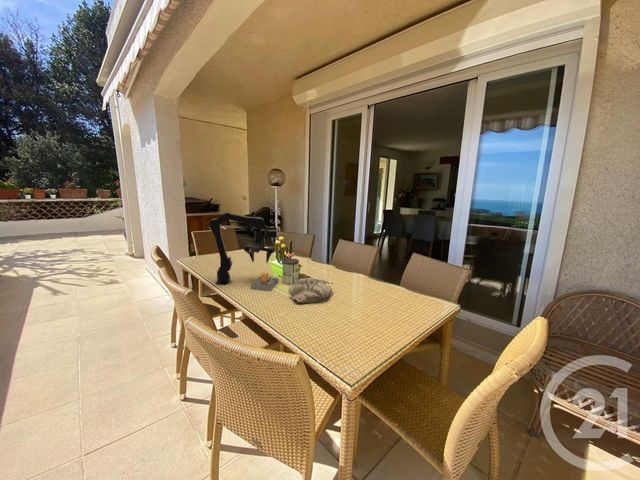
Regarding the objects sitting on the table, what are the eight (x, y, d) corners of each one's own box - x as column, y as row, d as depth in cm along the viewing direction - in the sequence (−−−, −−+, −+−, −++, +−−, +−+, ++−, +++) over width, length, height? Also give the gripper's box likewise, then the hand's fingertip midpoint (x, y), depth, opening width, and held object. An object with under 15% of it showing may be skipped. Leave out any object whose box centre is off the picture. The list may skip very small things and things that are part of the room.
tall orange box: (261, 286, 152) (260, 273, 151) (263, 284, 155) (263, 271, 154) (266, 286, 152) (266, 274, 150) (268, 284, 155) (268, 272, 153)
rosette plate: (250, 288, 148) (250, 283, 147) (260, 280, 161) (260, 275, 161) (270, 291, 146) (270, 285, 145) (278, 282, 159) (278, 277, 159)
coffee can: (284, 278, 167) (284, 257, 164) (299, 279, 166) (300, 258, 163) (280, 284, 157) (280, 262, 154) (296, 285, 156) (297, 263, 153)
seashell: (307, 307, 124) (299, 277, 126) (287, 311, 137) (280, 284, 139) (345, 293, 143) (337, 267, 146) (324, 298, 156) (317, 274, 159)
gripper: (239, 239, 150) (239, 264, 153) (269, 241, 147) (269, 267, 150) (247, 236, 160) (248, 259, 164) (275, 238, 157) (275, 262, 161)
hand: (260, 262), depth 159 cm, fingers open, 9 cm apart
